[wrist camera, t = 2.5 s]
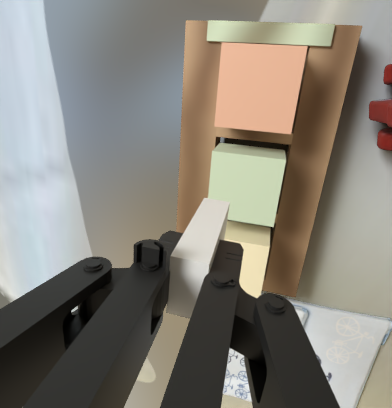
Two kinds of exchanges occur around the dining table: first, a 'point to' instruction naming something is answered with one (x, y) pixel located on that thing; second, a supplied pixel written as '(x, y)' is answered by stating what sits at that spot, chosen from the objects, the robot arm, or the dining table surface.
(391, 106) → the toy fire truck
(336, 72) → the board
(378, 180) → the dining table surface
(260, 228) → the cream yellow square block
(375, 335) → the printed paper napkins
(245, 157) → the pale green square block
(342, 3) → the dining table surface
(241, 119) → the salmon orange square block
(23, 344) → the robot arm
